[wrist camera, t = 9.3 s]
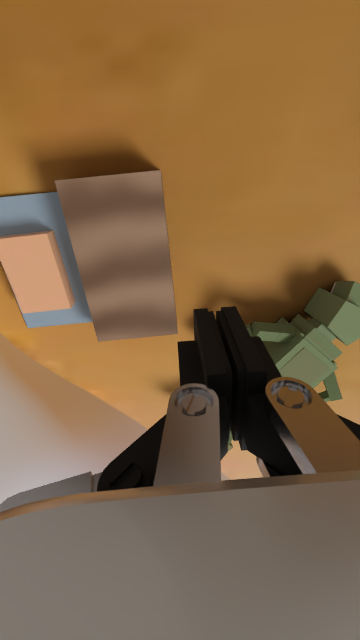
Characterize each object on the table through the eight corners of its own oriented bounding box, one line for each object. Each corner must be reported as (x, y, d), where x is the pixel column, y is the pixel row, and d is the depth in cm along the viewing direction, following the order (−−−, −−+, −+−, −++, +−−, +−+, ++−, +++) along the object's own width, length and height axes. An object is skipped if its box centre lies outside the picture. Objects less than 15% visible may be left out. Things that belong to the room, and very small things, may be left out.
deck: (68, 180, 29) (54, 180, 25) (161, 170, 29) (160, 170, 25) (104, 326, 37) (98, 341, 34) (176, 319, 37) (177, 333, 34)
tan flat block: (46, 233, 29) (53, 230, 31) (-9, 239, 29) (1, 236, 31) (70, 308, 33) (75, 301, 35) (22, 313, 33) (30, 306, 35)
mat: (-23, 199, 29) (-25, 199, 29) (68, 190, 29) (67, 190, 29) (28, 326, 37) (27, 328, 37) (101, 319, 37) (101, 320, 37)
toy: (244, 438, 49) (383, 321, 41) (258, 477, 43) (428, 346, 34) (152, 383, 42) (298, 228, 34) (152, 419, 35) (334, 237, 27)
